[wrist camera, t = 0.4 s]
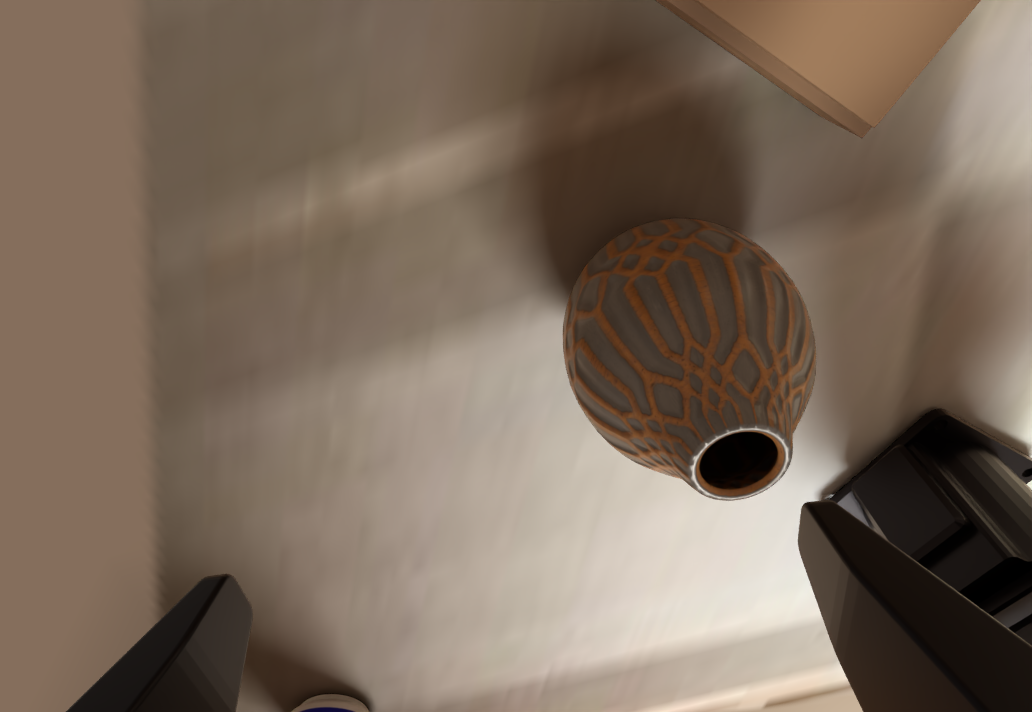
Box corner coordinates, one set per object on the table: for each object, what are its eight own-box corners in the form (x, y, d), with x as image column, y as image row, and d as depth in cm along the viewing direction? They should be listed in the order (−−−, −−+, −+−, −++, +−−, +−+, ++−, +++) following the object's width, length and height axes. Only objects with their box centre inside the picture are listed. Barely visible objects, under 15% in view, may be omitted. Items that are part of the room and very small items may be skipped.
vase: (771, 332, 23) (907, 516, 16) (591, 395, 24) (637, 594, 17) (731, 154, 19) (883, 284, 12) (522, 239, 21) (543, 405, 13)
